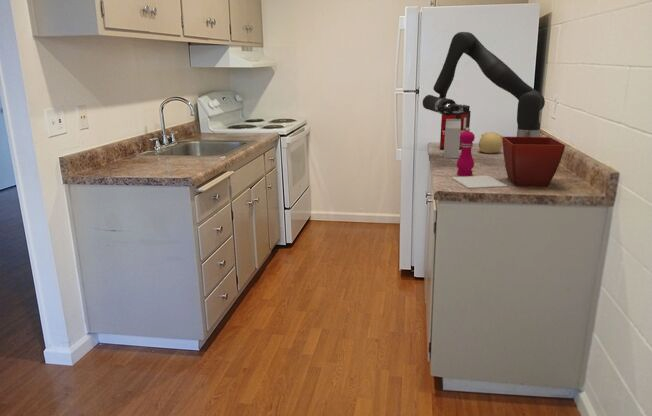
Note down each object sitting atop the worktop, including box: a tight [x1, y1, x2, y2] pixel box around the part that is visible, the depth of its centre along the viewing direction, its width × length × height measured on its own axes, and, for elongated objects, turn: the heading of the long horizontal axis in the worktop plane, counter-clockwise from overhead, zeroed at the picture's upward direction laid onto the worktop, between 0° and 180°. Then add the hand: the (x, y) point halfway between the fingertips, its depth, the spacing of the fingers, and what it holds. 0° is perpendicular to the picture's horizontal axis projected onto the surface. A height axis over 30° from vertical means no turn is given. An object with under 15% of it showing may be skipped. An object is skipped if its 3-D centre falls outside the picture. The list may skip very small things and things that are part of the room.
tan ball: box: [478, 131, 504, 154], centre depth 262 cm, size 12×12×11 cm
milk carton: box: [443, 119, 461, 159], centre depth 250 cm, size 7×7×19 cm
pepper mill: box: [456, 127, 476, 177], centre depth 212 cm, size 7×7×20 cm
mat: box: [450, 175, 509, 189], centre depth 201 cm, size 18×16×1 cm
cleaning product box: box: [439, 110, 472, 151], centre depth 274 cm, size 16×9×20 cm, turn 141°
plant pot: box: [502, 136, 566, 187], centre depth 198 cm, size 19×19×17 cm
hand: (459, 110), depth 218 cm, fingers open, 7 cm apart
